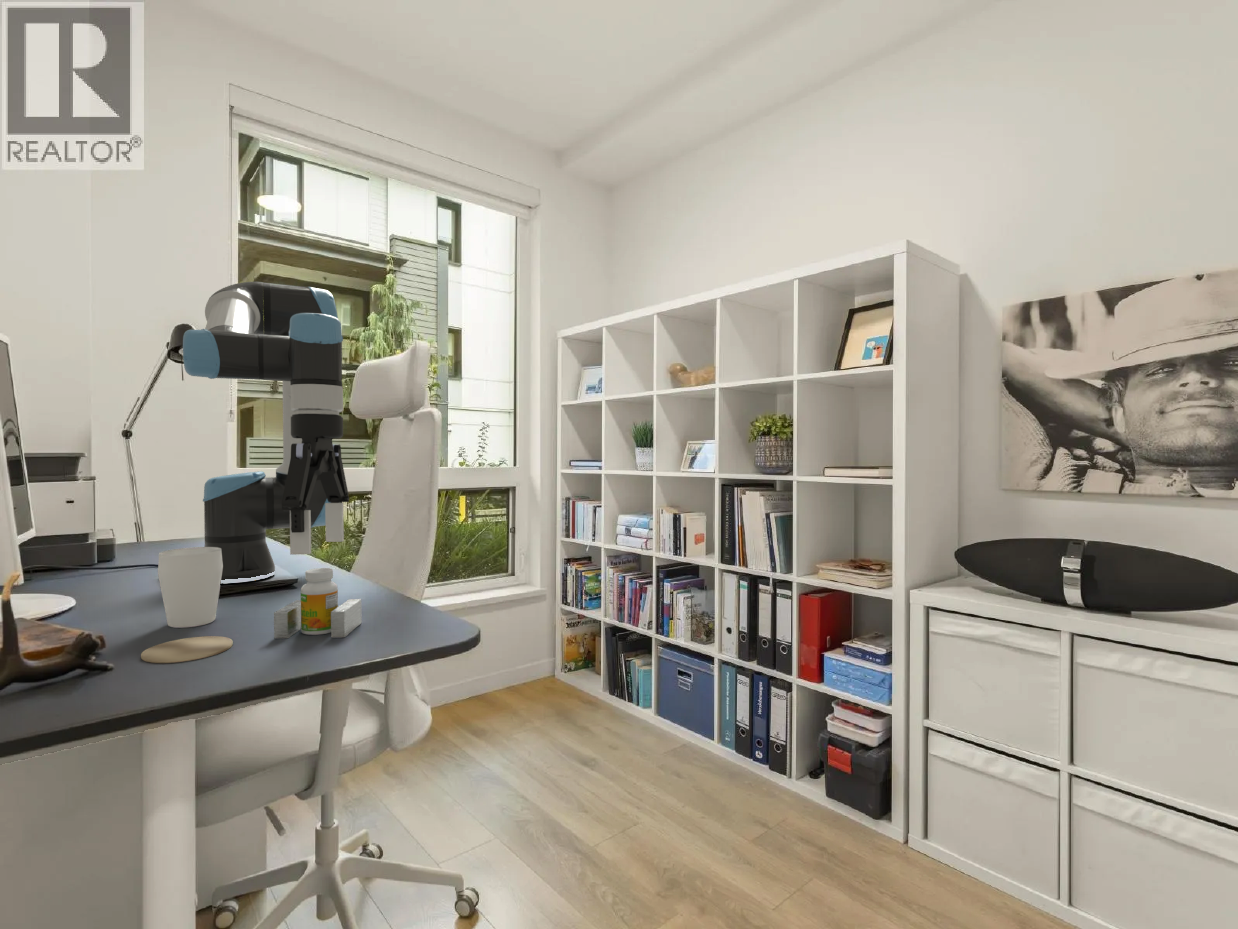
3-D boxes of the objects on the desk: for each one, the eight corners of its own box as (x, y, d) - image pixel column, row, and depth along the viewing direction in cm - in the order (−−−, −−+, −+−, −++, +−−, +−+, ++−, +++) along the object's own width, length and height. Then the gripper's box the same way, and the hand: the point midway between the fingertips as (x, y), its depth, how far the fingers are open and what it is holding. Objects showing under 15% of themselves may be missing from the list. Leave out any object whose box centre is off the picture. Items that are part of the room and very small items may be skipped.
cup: (192, 632, 102) (190, 556, 102) (144, 628, 104) (143, 554, 104) (236, 617, 111) (235, 547, 111) (192, 614, 113) (190, 545, 113)
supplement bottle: (293, 633, 102) (292, 572, 101) (319, 624, 107) (318, 566, 106) (320, 637, 100) (319, 574, 99) (345, 627, 105) (344, 568, 105)
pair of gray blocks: (296, 624, 107) (296, 600, 107) (361, 623, 108) (361, 599, 107) (274, 638, 99) (273, 612, 99) (344, 637, 100) (344, 611, 99)
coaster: (172, 639, 98) (172, 636, 98) (247, 638, 99) (247, 635, 99) (121, 664, 87) (121, 661, 87) (206, 662, 88) (206, 659, 88)
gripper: (323, 417, 114) (324, 537, 115) (253, 408, 89) (255, 560, 90) (366, 417, 115) (368, 536, 115) (309, 408, 90) (311, 560, 90)
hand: (318, 547), depth 103 cm, fingers open, 13 cm apart
